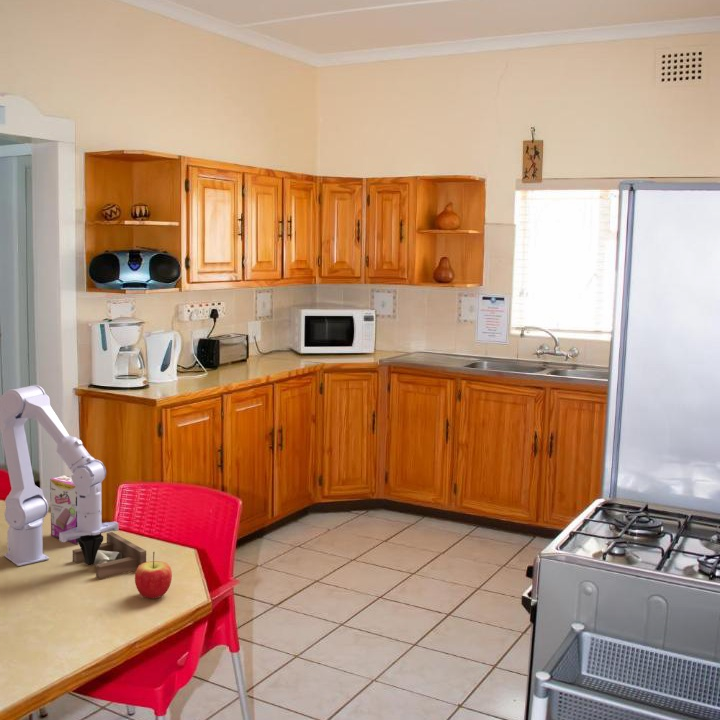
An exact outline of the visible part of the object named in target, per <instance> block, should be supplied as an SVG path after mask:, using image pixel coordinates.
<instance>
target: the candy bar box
mask: <svg viewBox="0 0 720 720" xmlns="http://www.w3.org/2000/svg"><path fill="white" fill-rule="evenodd" d="M49 483H50V485H49V487H50V488H49V491H50V536H51V537H54V538H57V539H59V533H61V532H65V531H67V530H70V529H73V528H76V527H77V492H76V487H75V485H74V483H73V482H72V478H71V476H68V475H65V474H64V475H61V476H56V477H51V478H50V479H49ZM67 542H69V543H73V544H75V545H79V543H78V542H77V540H76V539H72V540H68V541H67Z"/></svg>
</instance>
